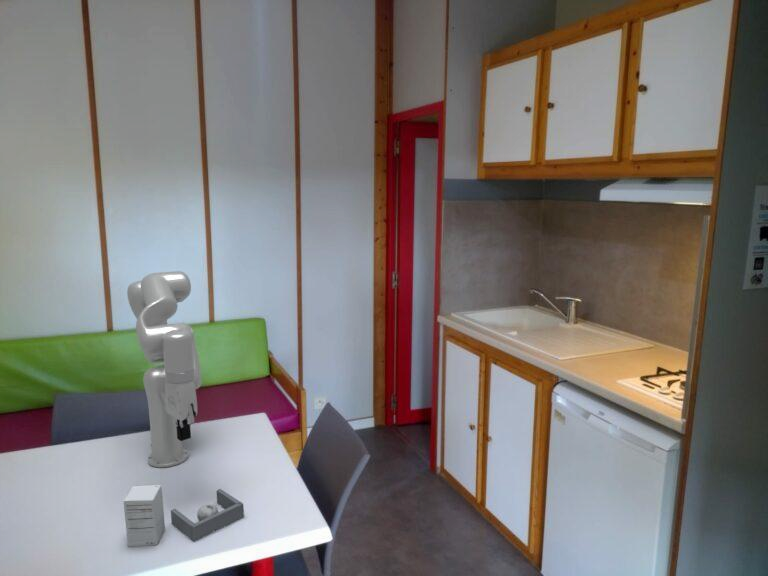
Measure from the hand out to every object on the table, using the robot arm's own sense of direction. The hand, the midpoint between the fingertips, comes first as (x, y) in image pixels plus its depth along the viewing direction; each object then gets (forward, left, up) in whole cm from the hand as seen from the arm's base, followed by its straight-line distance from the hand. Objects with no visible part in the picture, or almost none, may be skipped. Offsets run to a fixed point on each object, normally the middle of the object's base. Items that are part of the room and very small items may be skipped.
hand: (184, 438), depth 161 cm
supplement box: (+7, -16, -20) cm, 26 cm away
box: (+12, -1, -19) cm, 23 cm away
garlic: (+13, -1, -20) cm, 23 cm away
